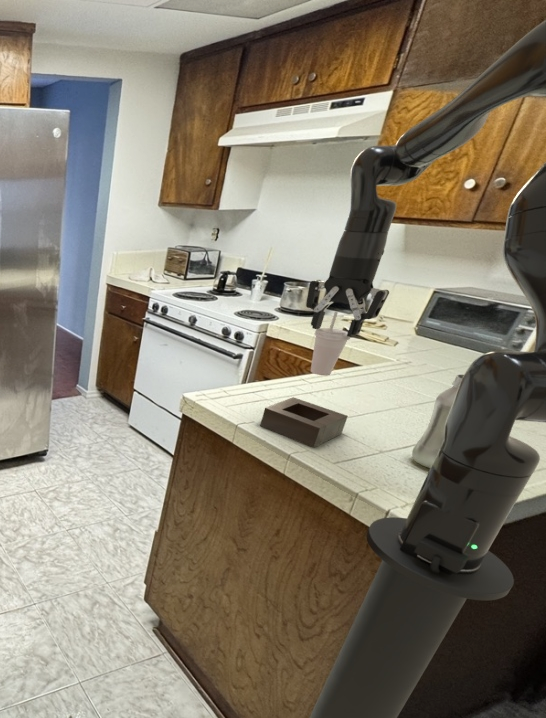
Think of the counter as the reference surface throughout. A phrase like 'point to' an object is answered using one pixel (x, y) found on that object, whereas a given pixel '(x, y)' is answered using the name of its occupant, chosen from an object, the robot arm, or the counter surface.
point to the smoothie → (327, 348)
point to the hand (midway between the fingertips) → (333, 332)
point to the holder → (303, 421)
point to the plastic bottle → (436, 427)
